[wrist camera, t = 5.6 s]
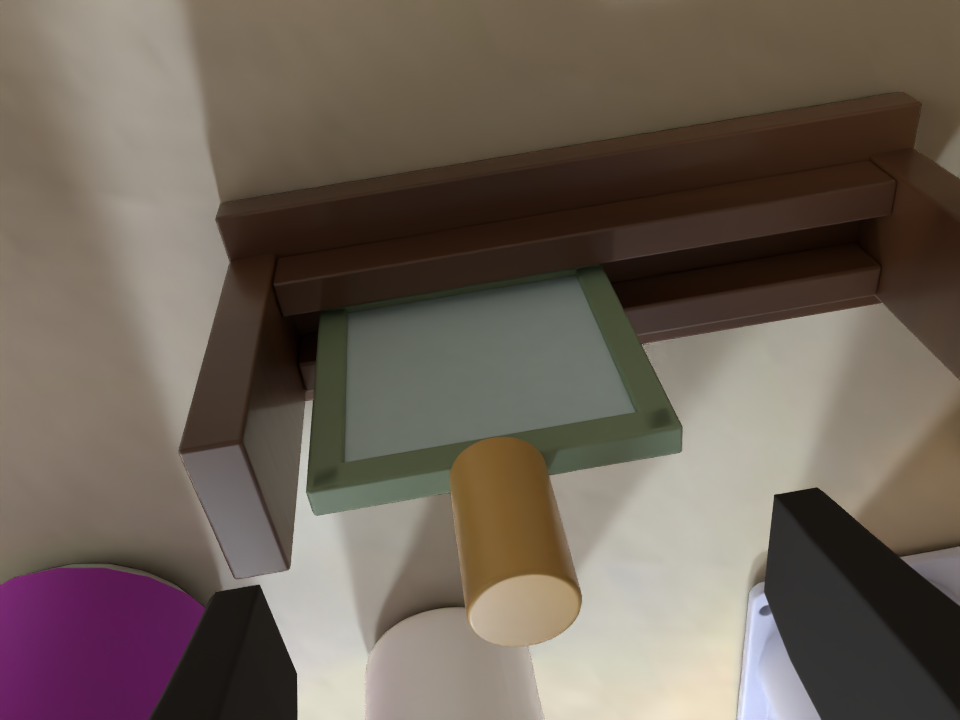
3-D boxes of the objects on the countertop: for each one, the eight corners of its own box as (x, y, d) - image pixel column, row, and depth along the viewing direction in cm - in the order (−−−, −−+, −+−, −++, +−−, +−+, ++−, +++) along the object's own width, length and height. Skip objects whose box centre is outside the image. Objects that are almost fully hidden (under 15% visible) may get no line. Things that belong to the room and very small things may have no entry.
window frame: (869, 287, 21) (1059, 474, 15) (280, 387, 21) (249, 618, 15) (903, 90, 18) (1152, 230, 12) (219, 202, 18) (153, 401, 12)
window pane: (597, 293, 19) (745, 608, 12) (331, 338, 19) (313, 686, 12) (594, 230, 18) (752, 531, 11) (314, 277, 18) (284, 614, 11)
